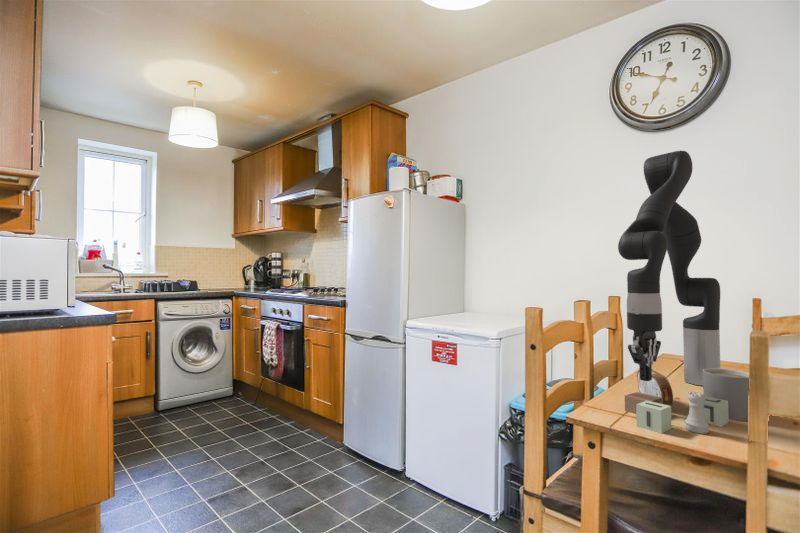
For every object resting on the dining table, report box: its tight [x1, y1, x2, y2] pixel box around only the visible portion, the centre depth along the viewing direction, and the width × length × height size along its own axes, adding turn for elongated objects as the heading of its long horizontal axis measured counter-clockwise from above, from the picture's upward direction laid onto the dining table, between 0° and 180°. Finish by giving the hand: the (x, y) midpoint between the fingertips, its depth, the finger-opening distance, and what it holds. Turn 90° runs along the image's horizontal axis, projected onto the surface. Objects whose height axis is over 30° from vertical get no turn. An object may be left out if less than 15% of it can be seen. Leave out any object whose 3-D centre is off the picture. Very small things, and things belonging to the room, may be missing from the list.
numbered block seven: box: [703, 396, 730, 428], centre depth 93 cm, size 5×5×5 cm
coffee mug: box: [702, 367, 750, 422], centre depth 99 cm, size 13×10×10 cm
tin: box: [636, 369, 674, 407], centre depth 106 cm, size 15×3×8 cm, turn 171°
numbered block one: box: [636, 401, 672, 435], centre depth 89 cm, size 5×5×5 cm
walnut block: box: [624, 391, 663, 415], centre depth 99 cm, size 6×6×4 cm
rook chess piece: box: [684, 391, 711, 435], centre depth 87 cm, size 4×4×8 cm
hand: (645, 380), depth 100 cm, fingers closed
